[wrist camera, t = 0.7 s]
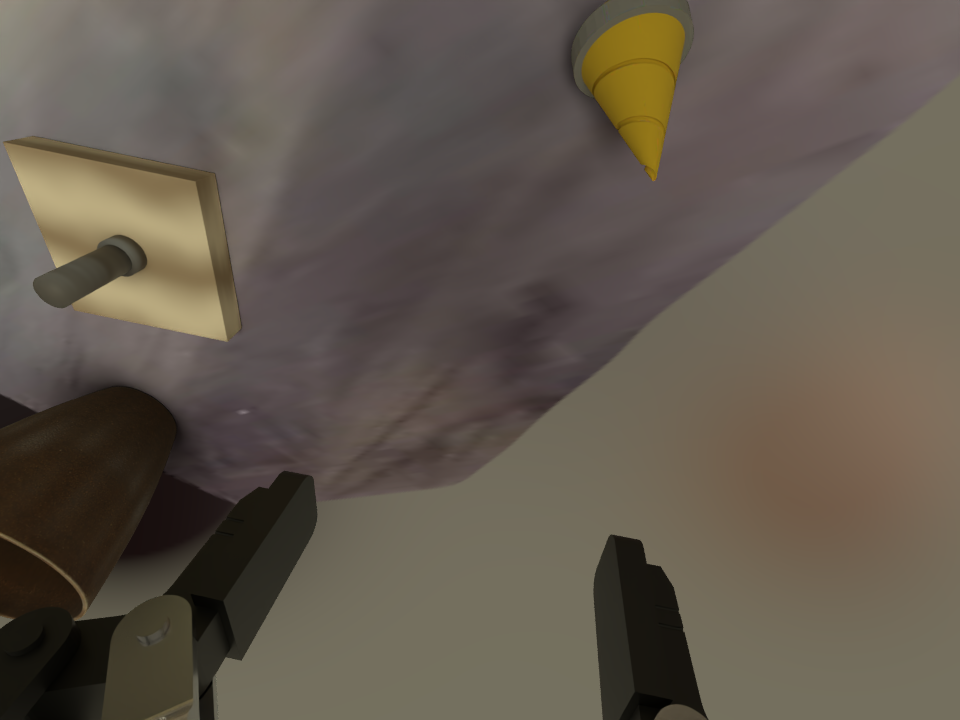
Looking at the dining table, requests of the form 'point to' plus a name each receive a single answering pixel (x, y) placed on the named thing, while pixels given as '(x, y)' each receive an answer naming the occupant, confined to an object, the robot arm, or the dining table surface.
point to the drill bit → (634, 68)
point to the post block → (129, 237)
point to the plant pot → (76, 495)
